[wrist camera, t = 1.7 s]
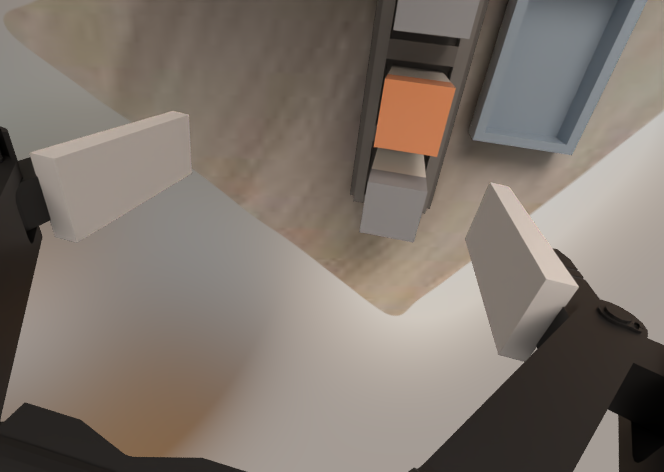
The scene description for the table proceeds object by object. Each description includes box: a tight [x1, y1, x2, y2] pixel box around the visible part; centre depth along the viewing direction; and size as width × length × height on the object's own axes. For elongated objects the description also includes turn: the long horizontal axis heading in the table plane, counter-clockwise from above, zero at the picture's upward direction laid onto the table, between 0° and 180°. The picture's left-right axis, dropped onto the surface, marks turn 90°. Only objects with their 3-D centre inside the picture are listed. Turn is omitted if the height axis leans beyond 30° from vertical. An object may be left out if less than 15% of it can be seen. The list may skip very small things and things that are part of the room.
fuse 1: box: [359, 148, 427, 242], centre depth 31 cm, size 4×4×11 cm
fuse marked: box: [374, 65, 456, 157], centre depth 28 cm, size 4×4×11 cm
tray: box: [468, 0, 647, 155], centre depth 28 cm, size 14×9×3 cm, turn 174°
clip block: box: [350, 0, 489, 214], centre depth 32 cm, size 23×9×3 cm, turn 174°
